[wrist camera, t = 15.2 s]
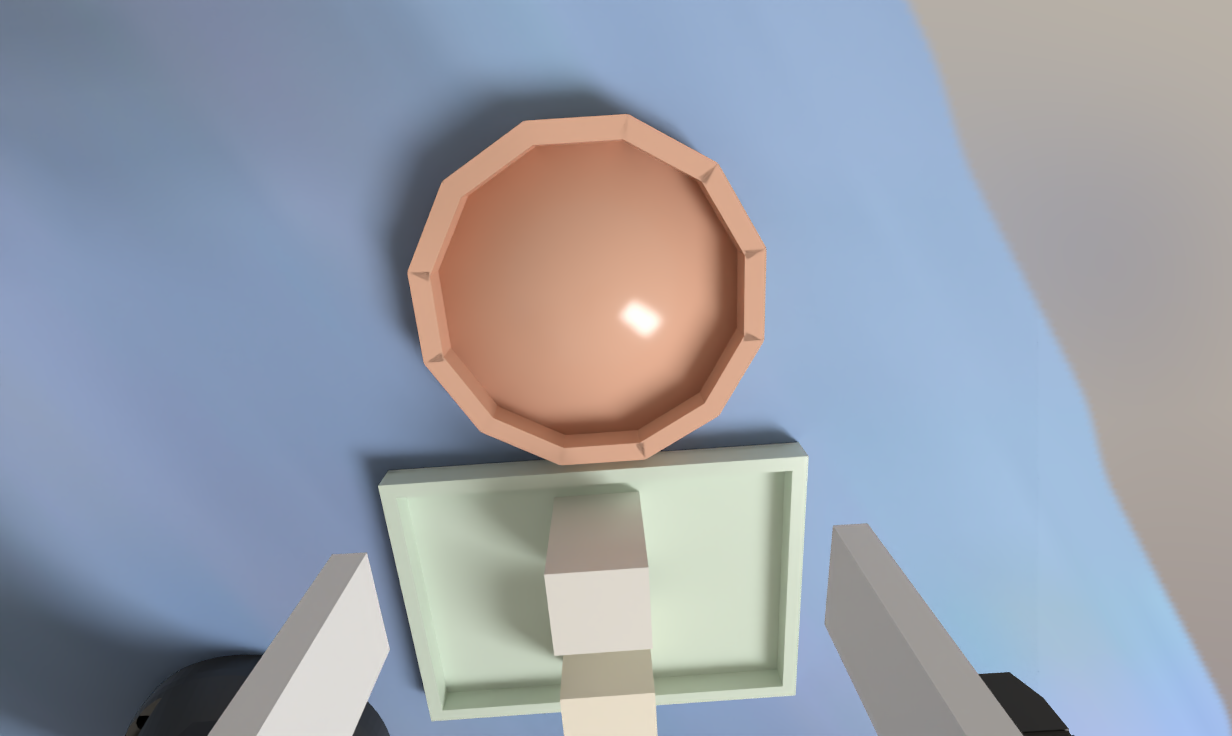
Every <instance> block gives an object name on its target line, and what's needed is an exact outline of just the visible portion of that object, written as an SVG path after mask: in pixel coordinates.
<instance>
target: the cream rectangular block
mask: <svg viewBox="0 0 1232 736" xmlns="http://www.w3.org/2000/svg"><path fill="white" fill-rule="evenodd" d="M560 705H561V713H562V721H563V729H564V736H657V720H656V701H655V687H654V678H653V669H652V659H651V650H650V649H644V650H630V651H616V652H602V653H588V654H574V655H563V663H562V676H561V690H560Z"/></svg>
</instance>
